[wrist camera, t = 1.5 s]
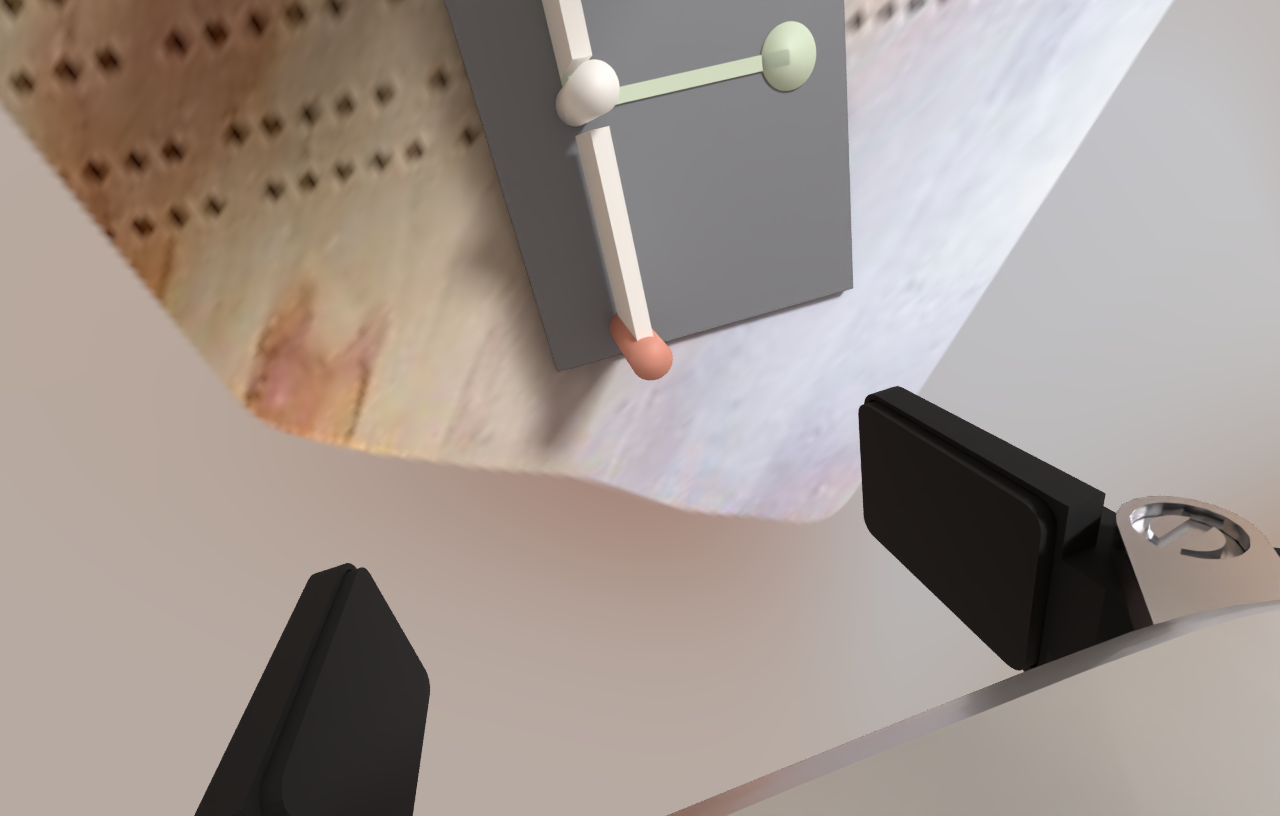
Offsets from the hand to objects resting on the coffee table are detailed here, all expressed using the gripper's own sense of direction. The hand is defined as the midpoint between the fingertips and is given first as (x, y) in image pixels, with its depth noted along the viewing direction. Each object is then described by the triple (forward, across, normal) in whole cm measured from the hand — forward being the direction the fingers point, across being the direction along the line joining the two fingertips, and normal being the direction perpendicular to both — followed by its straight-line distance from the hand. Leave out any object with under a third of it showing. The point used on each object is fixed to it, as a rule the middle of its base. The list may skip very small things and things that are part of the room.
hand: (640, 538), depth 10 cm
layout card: (+22, -9, -9) cm, 26 cm away
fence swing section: (+21, -4, -2) cm, 22 cm away
